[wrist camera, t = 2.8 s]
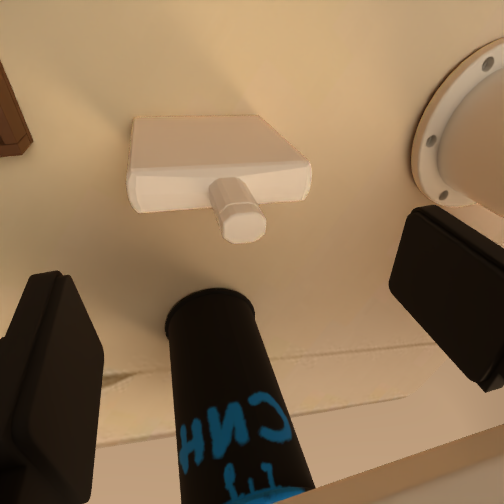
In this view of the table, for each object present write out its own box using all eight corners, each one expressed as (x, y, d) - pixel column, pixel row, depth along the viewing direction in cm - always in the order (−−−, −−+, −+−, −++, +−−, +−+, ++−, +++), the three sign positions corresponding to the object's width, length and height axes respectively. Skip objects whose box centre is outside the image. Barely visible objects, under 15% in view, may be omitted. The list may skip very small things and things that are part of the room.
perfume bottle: (135, 150, 21) (128, 265, 11) (130, 116, 20) (117, 213, 10) (260, 145, 23) (343, 242, 13) (262, 114, 21) (354, 195, 12)
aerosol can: (257, 339, 34) (355, 621, 18) (175, 360, 33) (205, 685, 17) (250, 277, 29) (376, 592, 13) (154, 300, 28) (168, 678, 12)
